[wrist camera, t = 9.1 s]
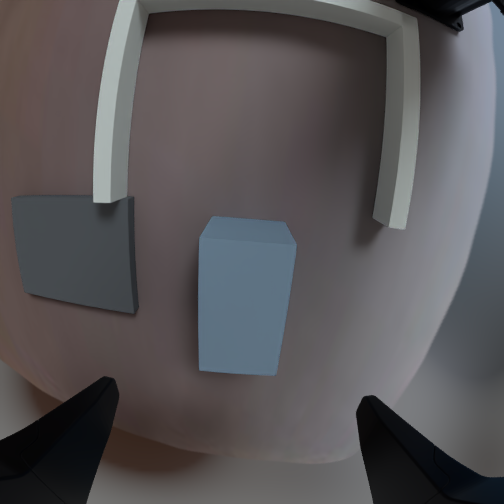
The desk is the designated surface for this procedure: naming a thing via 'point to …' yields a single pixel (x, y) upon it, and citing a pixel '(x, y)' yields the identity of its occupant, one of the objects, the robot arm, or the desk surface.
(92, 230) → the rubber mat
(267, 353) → the blank block
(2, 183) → the desk surface
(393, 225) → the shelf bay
